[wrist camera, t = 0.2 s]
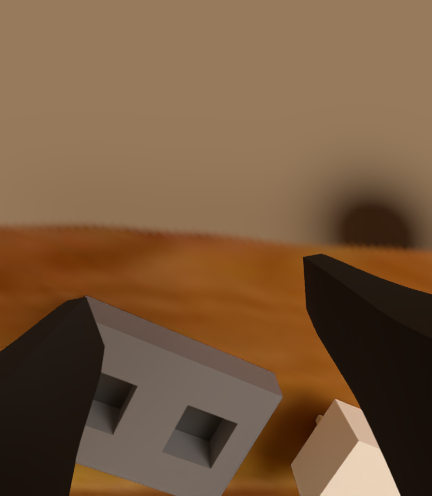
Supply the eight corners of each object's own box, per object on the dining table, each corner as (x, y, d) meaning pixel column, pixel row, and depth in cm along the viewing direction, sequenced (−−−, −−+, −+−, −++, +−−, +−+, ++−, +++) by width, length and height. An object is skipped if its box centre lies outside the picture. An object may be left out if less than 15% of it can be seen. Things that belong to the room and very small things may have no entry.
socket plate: (211, 475, 27) (213, 507, 24) (33, 414, 24) (16, 443, 22) (274, 372, 25) (282, 396, 22) (85, 295, 22) (72, 312, 20)
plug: (323, 480, 28) (353, 558, 22) (271, 461, 27) (289, 538, 21) (378, 402, 26) (425, 467, 21) (324, 379, 25) (358, 440, 20)
